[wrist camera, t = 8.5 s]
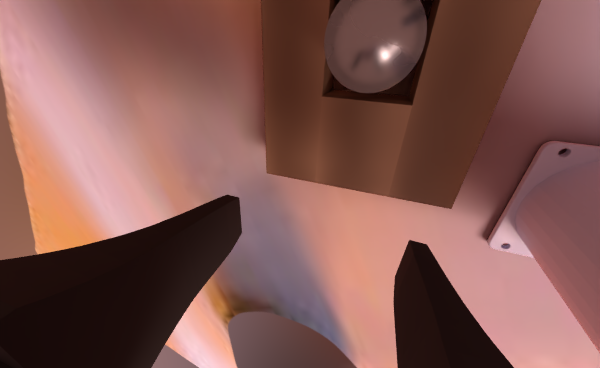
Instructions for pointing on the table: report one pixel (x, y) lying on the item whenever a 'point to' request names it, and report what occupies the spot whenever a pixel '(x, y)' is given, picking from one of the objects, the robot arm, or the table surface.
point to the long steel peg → (374, 42)
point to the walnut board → (387, 100)
